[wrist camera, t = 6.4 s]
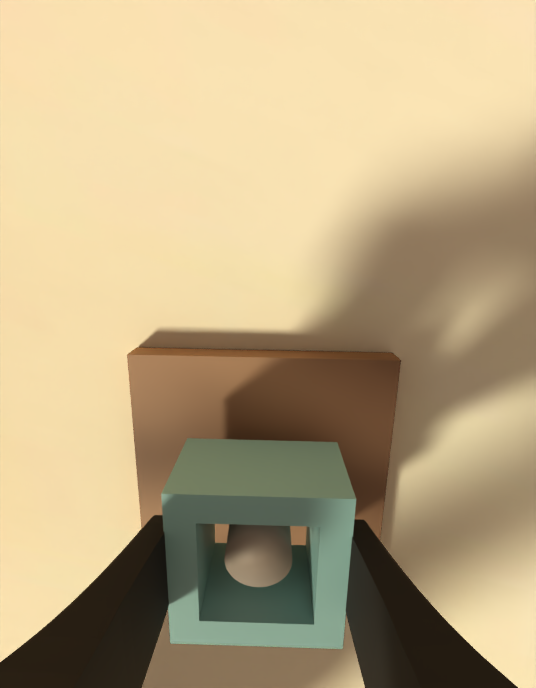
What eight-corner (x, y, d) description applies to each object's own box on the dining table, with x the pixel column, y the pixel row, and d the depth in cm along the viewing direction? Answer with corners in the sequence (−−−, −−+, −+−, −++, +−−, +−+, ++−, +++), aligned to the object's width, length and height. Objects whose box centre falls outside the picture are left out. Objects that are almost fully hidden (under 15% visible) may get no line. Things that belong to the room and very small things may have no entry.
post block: (369, 560, 17) (408, 687, 12) (152, 556, 17) (104, 680, 12) (392, 352, 14) (454, 406, 9) (137, 347, 14) (67, 398, 9)
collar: (328, 565, 14) (342, 649, 11) (192, 561, 14) (170, 643, 11) (337, 442, 13) (356, 499, 10) (187, 438, 13) (160, 493, 10)
